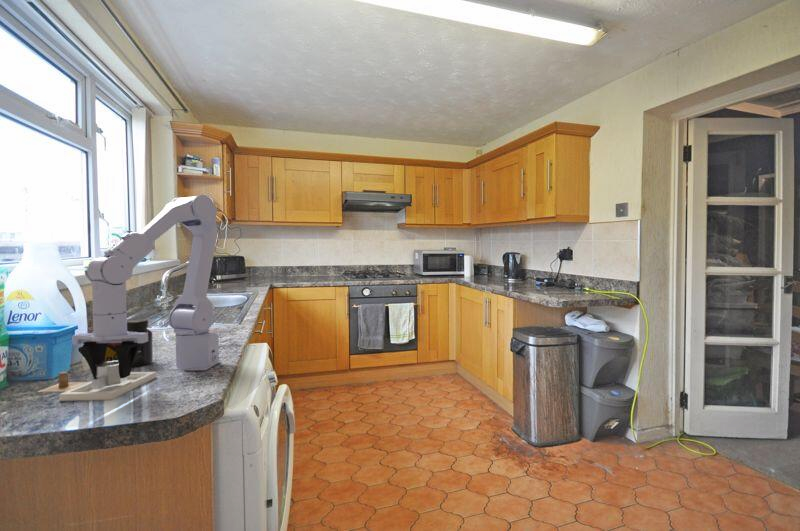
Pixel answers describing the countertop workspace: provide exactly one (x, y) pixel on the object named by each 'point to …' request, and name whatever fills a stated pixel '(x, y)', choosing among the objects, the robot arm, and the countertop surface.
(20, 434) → the countertop surface
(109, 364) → the ring
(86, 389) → the tray
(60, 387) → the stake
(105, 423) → the countertop surface
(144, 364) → the supplement bottle
